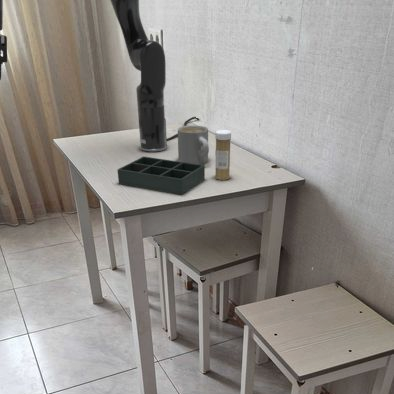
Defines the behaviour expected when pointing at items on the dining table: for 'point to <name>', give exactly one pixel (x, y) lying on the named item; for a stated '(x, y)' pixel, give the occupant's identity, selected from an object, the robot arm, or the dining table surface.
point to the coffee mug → (193, 144)
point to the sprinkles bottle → (222, 154)
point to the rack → (161, 175)
